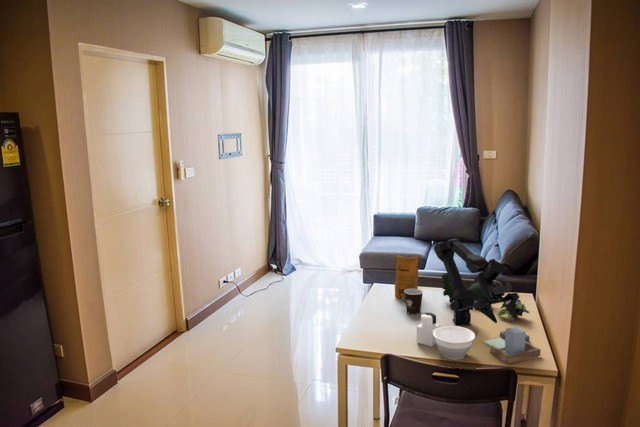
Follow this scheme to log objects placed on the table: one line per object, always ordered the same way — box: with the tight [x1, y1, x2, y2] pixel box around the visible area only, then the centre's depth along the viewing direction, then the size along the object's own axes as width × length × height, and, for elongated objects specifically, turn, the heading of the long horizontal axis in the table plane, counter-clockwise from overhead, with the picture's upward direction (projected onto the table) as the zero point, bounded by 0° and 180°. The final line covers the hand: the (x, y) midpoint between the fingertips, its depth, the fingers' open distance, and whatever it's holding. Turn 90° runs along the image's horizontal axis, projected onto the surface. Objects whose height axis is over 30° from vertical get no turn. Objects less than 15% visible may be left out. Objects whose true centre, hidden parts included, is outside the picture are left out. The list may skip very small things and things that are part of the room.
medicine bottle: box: [416, 312, 441, 348], centre depth 202 cm, size 7×7×12 cm
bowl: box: [433, 325, 476, 361], centre depth 191 cm, size 16×16×8 cm
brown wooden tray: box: [489, 341, 542, 365], centre depth 189 cm, size 10×15×3 cm
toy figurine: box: [441, 272, 486, 304], centre depth 242 cm, size 9×19×25 cm
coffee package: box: [394, 255, 419, 300], centre depth 255 cm, size 10×12×22 cm
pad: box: [483, 337, 505, 350], centre depth 199 cm, size 8×8×1 cm
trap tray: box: [499, 331, 530, 342], centre depth 203 cm, size 8×8×2 cm
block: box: [504, 326, 526, 355], centre depth 189 cm, size 5×5×10 cm
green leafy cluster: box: [496, 299, 530, 323], centre depth 223 cm, size 11×11×12 cm
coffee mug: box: [399, 288, 424, 315], centre depth 237 cm, size 12×9×10 cm
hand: (506, 320), depth 193 cm, fingers open, 9 cm apart
